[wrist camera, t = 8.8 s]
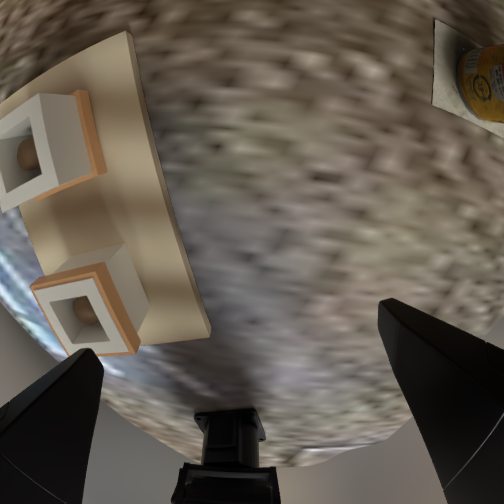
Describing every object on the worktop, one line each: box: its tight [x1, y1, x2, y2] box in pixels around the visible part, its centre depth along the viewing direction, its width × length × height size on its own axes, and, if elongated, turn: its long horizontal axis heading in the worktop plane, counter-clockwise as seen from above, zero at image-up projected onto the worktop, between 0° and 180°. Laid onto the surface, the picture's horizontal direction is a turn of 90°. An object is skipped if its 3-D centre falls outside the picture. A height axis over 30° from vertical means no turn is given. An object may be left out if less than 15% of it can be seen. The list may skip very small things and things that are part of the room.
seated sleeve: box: [30, 243, 150, 356], centre depth 17 cm, size 6×6×5 cm
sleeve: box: [0, 90, 107, 213], centre depth 13 cm, size 6×6×5 cm
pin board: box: [0, 31, 211, 346], centre depth 16 cm, size 22×12×5 cm, turn 12°
